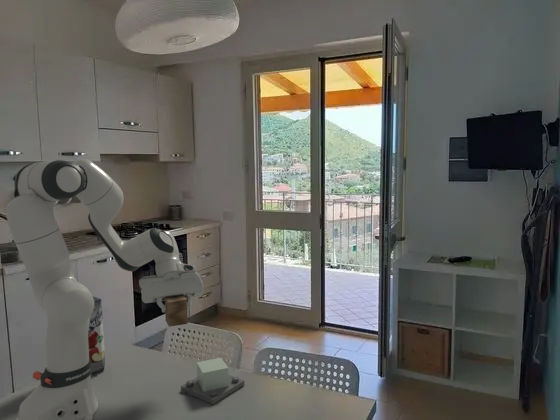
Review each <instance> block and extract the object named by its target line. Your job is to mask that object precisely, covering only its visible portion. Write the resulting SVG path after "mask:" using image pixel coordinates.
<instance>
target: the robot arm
mask: <svg viewBox="0 0 560 420" xmlns="http://www.w3.org/2000/svg"><path fill="white" fill-rule="evenodd" d="M13 195H14V197H15V198H12V199H11V200H10V201H9V202H8V204H7V205H6V208H5V215H6V219H7V223H8V228H9V231H10V234H11V236H12V237H11V238H12V240H13V242H14V244H15V246H16V248H17V251H18V252H19V256H20V258H21V260H22V262H23V265H24V267H25V269H26V272H27V275H28V279H29V283H30V286H31V288H32V290H33V293H34V297H35V299H36V302H37V304H38V306H39V307H40V308H41V309H42V310H43V311H44V312H45V313H46V317H47V329H46V337H45V339H44V352H45V366H46V367H45V368H44V370H43V372H40V371H39V370H36V371H34V372H33V373H32V375H31V376H32V379H35V380H36V381H40V383H39V384H38V385H37V387H35V388H34V390H33V391H32V392H31V393H30V394H29V395H28V396H27V397H26V398H25V399H24V400H23V401H22V402H21V403H20V405H19V408H18V412H17V418H16V419H15V420H93V419H94V417H93V416H94V414H95V412H97V411H98V408H99V402H98V399H97V397H96V394H95V391H94V388H93V387H94V386H93V381H92V377H93V375H92V367H91V360H90V358H89V346H88V330H89V323H90V316H91V314H92V312H93V310H94V299H93V297H92V296H93V295H92V293H91V291H90V289H88V287H87V286H85V285H83V284H82V283H81V282H79V281H78V280H77V279H76V277H75V275H74V272H73V269H72V265H71V261H70V251H69V249H68V245H67V244H66V240H64V236H63V234H62V232H61V229H60V226H59V224H58V222H57V220H56V218H55V214H54V204H55V202H59V201H67V200H70V199H72V198H74V197H76V198H77V199H78V200H79V201H80V203H82V204H83V205H84V206H85V207H86V208H87V210H88V212H89V213H88V216H87V218H88V219H87V220H88V222H89V225H90V226H91V228H92V230H93V231H94V232H95V234H96V235H97V237H98V238H99V240H101V242H102V243H103V244H104V246H105V247H106V248H107V250H109V253H111V255H112V257H113V258H114V260H115V262H116V264H117V265H118V267H119V268H121V269H122V270H124V271H127V272H135V271H136V270H138V269H139V268H140V269H141V267H142V266H144V265H146V264H148V263H149V262H152V261H154V262H155V267H154V268H155V269H154V270H155V274H154V275H148V276H147V275H145V276H142V277H141V278H140V279H139V280H138V285H139V286H138V287H139V288H140V289H141V301H142V302H143V303H144V304H149V303H156V304H157V306H158V307H159V308H160V309H161V312H162V313H163V314H164V313H165V312H167V305H165V303H164V302H165V297H170V296H178V295H184V297H185V298H186V299H187V310H190V309H191V300H192V298H194V297H201V296H202V295H203V294H204V291H205V286H204V283H203V281H202V277H201V276H200V273H198V272H197V267H196V265H193V264H188V263H187V264H186V263H182V261H181V260H180V251H179V248H178V244H177V241H176V239H175V236H174V235H173V234H172V232H170V231H168V230H162V229H160V228H156V227H152V228H149V229H147V230H146V231H143V232H142V233H140V234H138V235H136V236H135V237H133V238H130V239H129V240H122V238H121V237H120V235H118V233H117V231H116V230H115V229H114V228H113V226H112V224H111V223H112V222H113V220H114V219H115V218H116V216H118V214H119V213H120V211H121V209H122V207H123V205H124V199H125V198H124V192H123V190H122V189H121V187H120V186H119V185H118V184H117V182H116V181H115V180H114V179H113V178H112V177H111V176H110V175H109V174H108V173H107V172H105V170H103V169H102V168H101V167H100V166H98V165H97V164H96V163H94V162H93V161H91V160H90V159H87V158H79V159H76V160H74V161H72V162H70V161H67V160H63V159H61V160H60V159H58V160H51V161H50V160H43V161H38V162H35V163H30V164H26V165H25V166H23V167H22V168H20V169H19V170H18V171H17V173H16V174H15V177H14V194H13Z"/></svg>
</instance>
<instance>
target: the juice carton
mask: <svg viewBox="0 0 560 420" xmlns="http://www.w3.org/2000/svg"><path fill="white" fill-rule="evenodd" d="M92 297H93V299H94V310H93V312H92V314H91V316H90V323H89V330H88V346H89V358H90V360H91V367H92V376H93V375H96V374H99V373H101V372H104V371H105V366H106V365H105V364H106V351H105V335H104V318H103V315H104V314H103V304H102V299H101V298H99V297H97V296H94V295H92Z"/></svg>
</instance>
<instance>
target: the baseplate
mask: <svg viewBox="0 0 560 420" xmlns="http://www.w3.org/2000/svg"><path fill="white" fill-rule="evenodd" d="M196 376H197V377H195V378H193V379H191V380H188V381H186V383H184V384H182V385H181V386H180V391H181V392H183V393H185V394H187V395H190V396H193V397H194V398H197V399H200V400H201V401H204V402H207V403H208V404H211V405H215V404H216V403H218V402H219V401H221V400H223V399H224V398H226V397H228V396H230V395H231V394H232V393H234V392H235V391H237V390H238V389H241V388H243V386H245V379H241V378H239V376H232V375H230V373H229V367H228V365H227V363H226V362H225V361H224V360H223V358H222V357H217V358H211V359H207V360H203V361H197V362H196Z"/></svg>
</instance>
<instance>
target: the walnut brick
mask: <svg viewBox="0 0 560 420" xmlns="http://www.w3.org/2000/svg"><path fill="white" fill-rule="evenodd" d="M187 302H188V300H187V298H185V297H184V295H178V296H170V297H165V301H164V305H167V312H164V314H165V316H164V317H165V322H166V324H167V326H168V328H170V327H171V328H172V327H176V326H181V325H188V324H189V323H188V321H189V320H188V319H189V318H188V309H187Z"/></svg>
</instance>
